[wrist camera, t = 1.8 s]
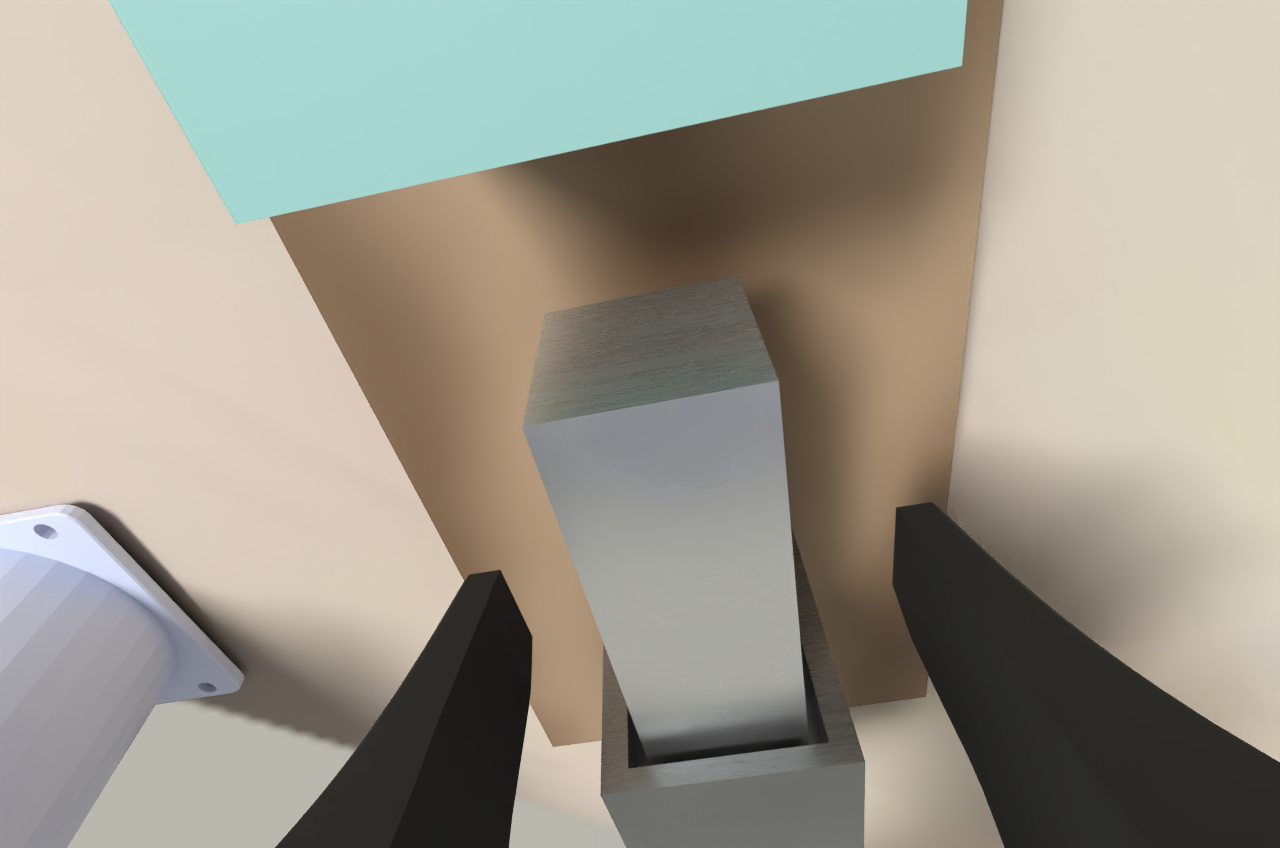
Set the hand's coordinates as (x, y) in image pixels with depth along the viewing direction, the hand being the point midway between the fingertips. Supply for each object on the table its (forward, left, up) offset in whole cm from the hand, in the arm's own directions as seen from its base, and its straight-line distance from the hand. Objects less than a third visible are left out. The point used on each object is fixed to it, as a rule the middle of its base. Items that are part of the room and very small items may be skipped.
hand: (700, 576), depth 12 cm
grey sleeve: (0, -6, -3) cm, 7 cm away
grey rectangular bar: (0, -1, -1) cm, 2 cm away
